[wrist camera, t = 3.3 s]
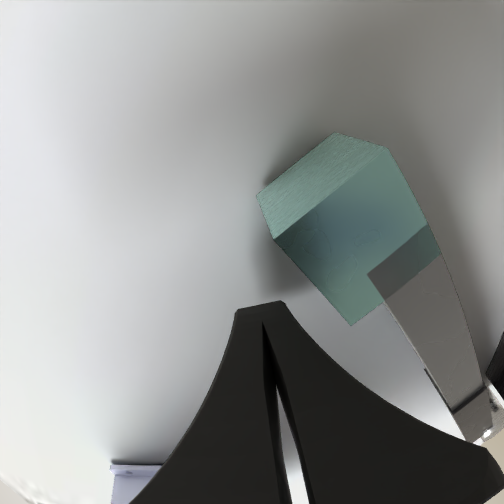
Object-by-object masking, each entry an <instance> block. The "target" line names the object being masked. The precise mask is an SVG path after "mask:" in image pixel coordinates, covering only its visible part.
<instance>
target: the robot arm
mask: <svg viewBox="0 0 504 504" xmlns="http://www.w3.org/2000/svg"><path fill="white" fill-rule="evenodd" d="M276 386H277V389H278V392H279V395H280V398H281V401H282V405H283V408H284V411H285V414H286V417H287V420H288V423H289V426H290V429H291V432H292V435H293V438H294V441H295V444H296V448H297V451H298V455H299V459H300V463H301V468H302V473H303V477H304V482H305V486H306V491H307V496H308V500H309V504H484V503H485V502H486V501H488V500H489V499H491V498H492V497H493V496H495V495H496V494H497V493H499V492H500V491H501V490H502V489H504V474H503V472H502V470H501V468H500V466H499V465H498V463H497V462H496V460H495V459H494V458H493V457H492V455H491V454H490V453H489V451H488V450H487V448H484V447H481V446H478V445H476V444H473V443H470V442H467V441H464V440H462V439H459V438H457V437H454V436H452V435H449V434H447V433H445V432H442V431H440V430H438V429H436V428H434V427H432V426H430V425H428V424H426V423H424V422H422V421H420V420H418V419H416V418H414V417H413V416H411V415H409V414H408V413H406V412H404V411H402V410H401V409H399V408H397V407H395V406H394V405H392V404H390V403H389V402H387V401H386V400H384V399H383V398H381V397H380V396H378V395H377V394H375V393H374V392H372V391H371V390H370V389H368V388H367V387H366V386H364V385H363V384H362V383H360V382H359V381H358V380H356V379H355V378H354V377H353V376H351V375H350V374H349V373H348V372H347V371H345V370H344V369H343V368H342V367H341V366H340V365H339V364H337V363H336V362H335V361H334V360H333V359H332V358H331V357H330V356H329V355H328V354H327V353H326V352H325V351H324V350H323V349H322V348H321V347H320V346H319V345H318V344H317V343H316V342H315V341H314V340H313V339H312V338H311V337H310V336H309V335H308V333H307V332H306V331H305V330H304V329H303V328H302V326H301V325H300V324H299V323H298V321H297V320H296V319H295V318H294V316H293V315H292V314H291V312H290V311H289V309H288V308H287V306H286V304H285V303H284V302H282V301H281V300H280V301H275V302H270V303H266V304H261V305H256V306H251V307H246V308H241V309H238V310H237V311H236V312H235V316H234V321H233V326H232V330H231V334H230V337H229V340H228V344H227V347H226V349H225V352H224V355H223V358H222V361H221V363H220V366H219V369H218V371H217V373H216V375H215V378H214V380H213V382H212V385H211V387H210V389H209V391H208V393H207V395H206V397H205V399H204V401H203V403H202V405H201V407H200V409H199V411H198V413H197V414H196V416H195V418H194V420H193V422H192V423H191V425H190V426H189V428H188V430H187V431H186V433H185V434H184V436H183V437H182V439H181V440H180V442H179V444H178V445H177V447H176V448H175V449H174V451H173V452H172V454H171V455H170V456H169V458H168V459H167V460H166V462H165V463H164V464H163V465H162V466H140V465H110V469H109V470H110V471H111V472H112V473H113V474H114V475H115V478H114V485H113V492H112V499H111V504H292V499H291V494H290V489H289V485H288V480H287V474H286V469H285V464H284V459H283V452H282V443H281V432H280V421H279V410H278V400H277V390H276Z"/></svg>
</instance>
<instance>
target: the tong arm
mask: <svg viewBox="0 0 504 504" xmlns="http://www.w3.org/2000/svg"><path fill="white" fill-rule="evenodd" d="M256 197H257V199H258V202H259V204H260V207H261V209H262V212H263V214H264V217H265V219H266V222H267V224H268V227H269V229H270V232H271V235H272V237H273V240H274V241H275V242H276V243H277V244H278V245H279V246H280V247H281V248H282V250H283V251H284V252H285V253H286V254H287V255H288V256H289V257H290V258H291V259H292V261H293V262H294V263H295V264H296V265H297V266H298V267H299V268H300V269H301V271H302V272H303V273H304V274H305V275H306V276H307V277H308V278H309V279H310V281H311V282H312V283H313V284H314V285H315V286H316V287H317V288H318V290H319V291H320V292H321V293H322V294H323V295H324V296H325V297H326V299H327V300H328V301H329V302H330V303H331V304H332V305H333V306H334V308H335V309H336V310H337V311H338V312H339V313H340V314H341V316H342V317H343V318H344V319H345V320H346V321H347V322H348V323H349V325H350V326H352V325H353V324H354V323H356V322H357V321H358V320H360V319H361V318H363V317H364V316H365V315H367V314H368V313H369V312H371V311H372V310H373V309H375V308H376V307H377V306H378V305H380V304H381V303H382V302H383V303H384V305H385V306H386V308H387V309H388V311H389V312H390V314H391V315H392V317H393V318H394V320H395V321H396V323H397V324H398V326H399V327H400V329H401V330H402V332H403V333H404V335H405V336H406V338H407V340H408V341H409V343H410V344H411V346H412V347H413V349H414V350H415V352H416V354H417V355H418V357H419V358H420V360H421V362H422V363H423V365H424V366H425V369H424V370H425V372H426V373H427V375H428V377H429V378H430V380H431V382H432V383H433V385H434V386H435V388H436V390H437V391H438V393H439V395H440V396H441V398H442V400H443V401H444V403H445V405H446V407H447V408H448V410H449V412H450V413H451V415H452V417H453V419H454V420H455V422H456V424H457V425H458V427H459V429H460V431H461V432H462V434H463V436H464V438H465V440H466V441H467V442H470V443H473V442H474V441H476V440H477V439H478V438H480V437H481V439H482V440H483V442H485V441H487V440H489V439H491V438H492V437H493V436H495V435H496V434H497V433H499V432H500V431H501V430H502V429H503V428H504V408H503V407H502V406H501V404H500V403H499V401H498V400H497V398H496V397H495V395H494V394H493V393H492V391H491V390H490V388H489V387H488V386H485V384H484V383H483V381H482V377H481V373H480V369H479V365H478V361H477V357H476V353H475V349H474V345H473V342H472V338H471V335H470V332H469V328H468V325H467V322H466V319H465V316H464V313H463V310H462V307H461V304H460V301H459V298H458V295H457V292H456V290H455V287H454V284H453V281H452V279H451V276H450V274H449V271H448V269H447V266H446V264H445V261H444V259H443V256H442V254H441V252H440V249H439V247H438V245H437V242H436V240H435V238H434V236H433V233H432V231H431V229H430V227H429V225H428V223H427V221H426V218H425V216H424V214H423V212H422V210H421V208H420V206H419V204H418V202H417V200H416V198H415V196H414V194H413V193H412V191H411V189H410V187H409V185H408V183H407V181H406V179H405V178H404V176H403V174H402V172H401V170H400V169H399V167H398V165H397V163H396V162H395V160H394V158H393V157H392V155H391V153H390V152H389V150H388V148H386V147H383V146H380V145H377V144H373V143H370V142H367V141H363V140H360V139H357V138H353V137H349V136H346V135H342V134H339V133H335V132H334V133H333V134H331V135H330V136H329V137H328V138H326V139H325V140H324V141H323V142H321V143H320V144H319V145H317V146H316V147H315V148H314V149H312V150H311V151H310V152H309V153H307V154H306V155H305V156H304V157H302V158H301V159H300V160H299V161H297V162H296V163H295V164H294V165H293V166H291V167H290V168H289V169H288V170H286V171H285V172H284V173H283V174H281V175H280V176H279V177H278V178H277V179H275V180H274V181H273V182H272V183H271V184H269V185H268V186H267V187H266V188H264V189H263V190H262V191H261V192H260V193H258V194H257V195H256Z"/></svg>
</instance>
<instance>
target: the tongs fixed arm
mask: <svg viewBox="0 0 504 504" xmlns="http://www.w3.org/2000/svg"><path fill="white" fill-rule="evenodd" d="M486 376H487V377H488V379H489V380H490V382H491V383H492V384H493V386H494V387H495V388H496V390H497V391H498V393H499V394H500V395H501V397H502V398H503V400H504V333H503V336H502V338H501V341H500V343H499V346H498V348H497V350H496V353H495V355H494V357H493V360H492V362H491V364H490V366H489V368H488V371H487V373H486Z"/></svg>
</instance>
